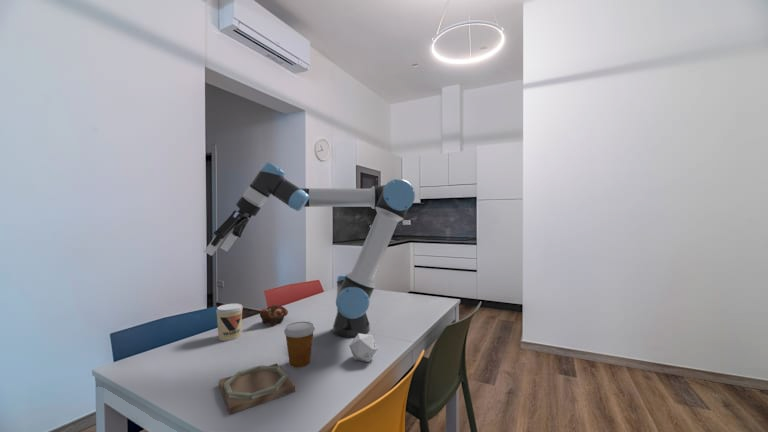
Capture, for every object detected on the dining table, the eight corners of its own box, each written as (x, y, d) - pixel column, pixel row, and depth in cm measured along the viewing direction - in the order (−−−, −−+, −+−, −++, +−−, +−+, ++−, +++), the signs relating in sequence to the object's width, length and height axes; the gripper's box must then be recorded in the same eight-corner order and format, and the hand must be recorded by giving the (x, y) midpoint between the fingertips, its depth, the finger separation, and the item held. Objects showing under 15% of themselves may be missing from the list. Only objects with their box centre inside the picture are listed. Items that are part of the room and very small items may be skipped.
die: (359, 370, 95) (377, 343, 96) (340, 351, 99) (358, 326, 100) (368, 368, 102) (385, 343, 103) (350, 350, 106) (367, 327, 107)
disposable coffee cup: (306, 371, 93) (306, 332, 93) (278, 368, 95) (278, 330, 95) (319, 357, 102) (319, 321, 102) (293, 355, 104) (293, 320, 104)
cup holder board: (276, 368, 95) (276, 360, 95) (295, 391, 82) (295, 382, 82) (218, 385, 86) (218, 376, 86) (229, 414, 73) (229, 403, 73)
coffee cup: (219, 343, 114) (219, 311, 114) (213, 336, 121) (213, 306, 121) (245, 337, 120) (245, 306, 120) (238, 330, 127) (238, 301, 127)
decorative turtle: (252, 327, 131) (252, 308, 132) (277, 319, 145) (277, 302, 146) (270, 329, 128) (270, 309, 128) (293, 320, 141) (293, 303, 142)
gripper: (252, 198, 121) (220, 243, 119) (230, 192, 97) (189, 248, 95) (269, 208, 122) (237, 253, 120) (250, 205, 98) (210, 261, 96)
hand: (216, 251), depth 108 cm, fingers open, 13 cm apart
